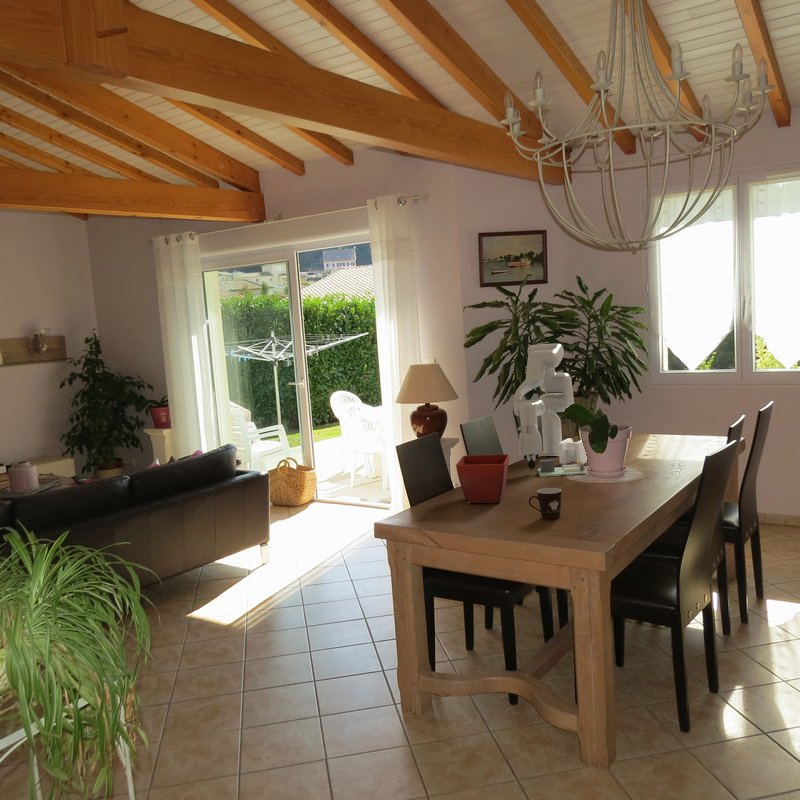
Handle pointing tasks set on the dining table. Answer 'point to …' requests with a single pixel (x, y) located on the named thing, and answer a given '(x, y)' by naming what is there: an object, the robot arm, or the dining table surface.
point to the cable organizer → (571, 452)
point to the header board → (564, 470)
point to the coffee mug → (549, 503)
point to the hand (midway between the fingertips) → (531, 469)
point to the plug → (547, 465)
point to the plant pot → (483, 477)
